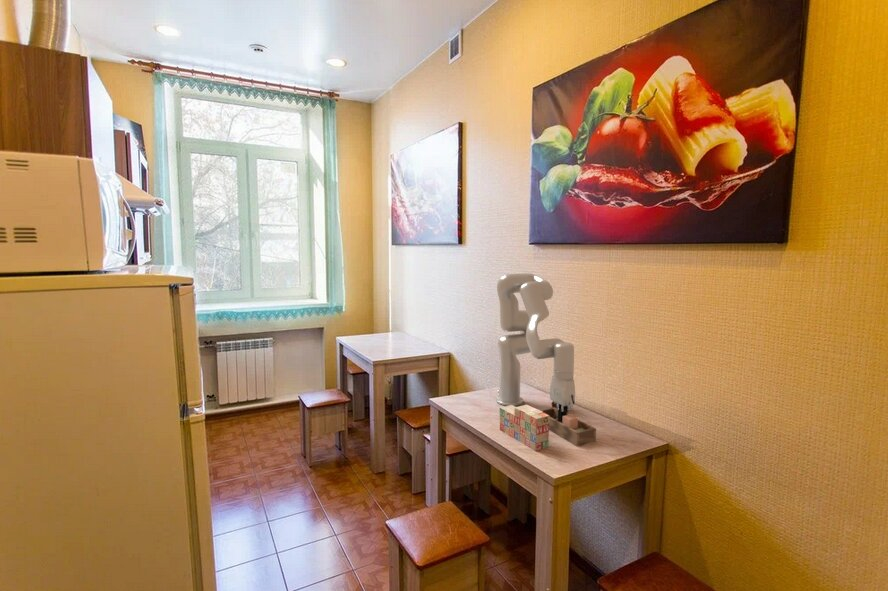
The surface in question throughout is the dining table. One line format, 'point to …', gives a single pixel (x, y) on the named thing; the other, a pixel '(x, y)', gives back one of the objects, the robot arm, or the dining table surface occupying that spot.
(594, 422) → the dining table surface
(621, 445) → the dining table surface
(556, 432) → the box
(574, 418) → the terracotta block
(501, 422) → the stack of blocks
